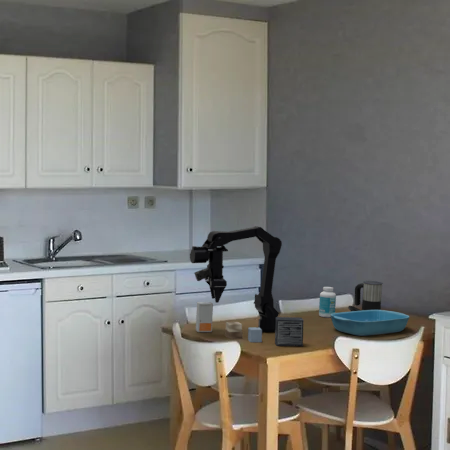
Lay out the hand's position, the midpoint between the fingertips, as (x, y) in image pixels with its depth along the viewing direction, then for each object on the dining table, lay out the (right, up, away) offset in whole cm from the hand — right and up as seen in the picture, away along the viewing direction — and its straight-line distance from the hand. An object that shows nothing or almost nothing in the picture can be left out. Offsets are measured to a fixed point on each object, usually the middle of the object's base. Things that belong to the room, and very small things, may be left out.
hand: (215, 300), depth 362 cm
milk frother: (+70, -11, +59) cm, 92 cm away
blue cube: (+16, -15, -10) cm, 24 cm away
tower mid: (+8, -12, -5) cm, 15 cm away
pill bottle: (+51, -12, +48) cm, 71 cm away
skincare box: (-5, -13, +5) cm, 15 cm away
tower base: (+8, -15, -5) cm, 17 cm away
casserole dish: (+66, -15, +19) cm, 70 cm away
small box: (+29, -16, -15) cm, 36 cm away
